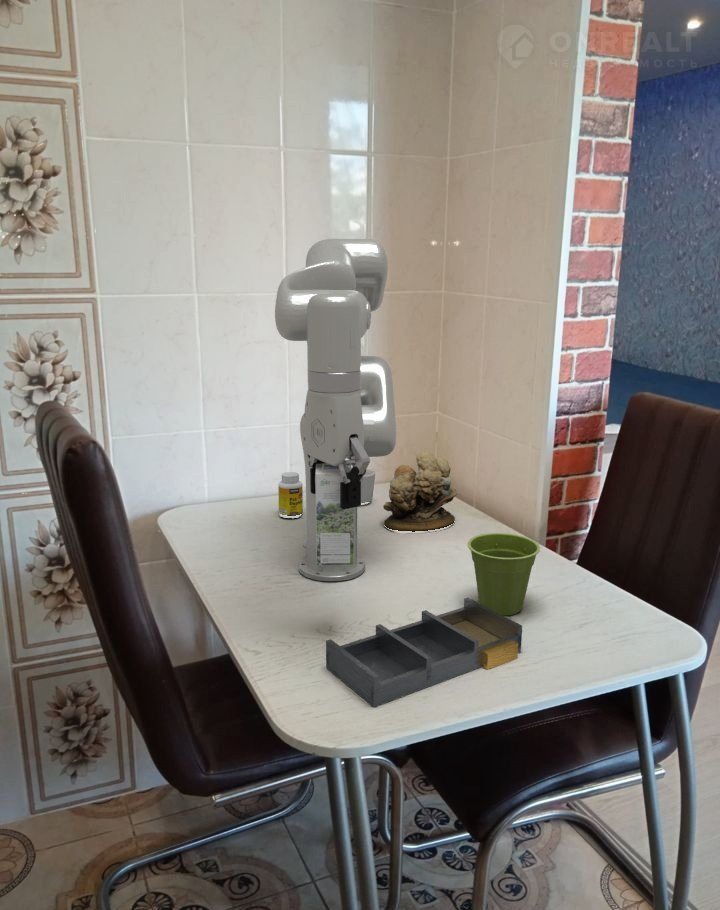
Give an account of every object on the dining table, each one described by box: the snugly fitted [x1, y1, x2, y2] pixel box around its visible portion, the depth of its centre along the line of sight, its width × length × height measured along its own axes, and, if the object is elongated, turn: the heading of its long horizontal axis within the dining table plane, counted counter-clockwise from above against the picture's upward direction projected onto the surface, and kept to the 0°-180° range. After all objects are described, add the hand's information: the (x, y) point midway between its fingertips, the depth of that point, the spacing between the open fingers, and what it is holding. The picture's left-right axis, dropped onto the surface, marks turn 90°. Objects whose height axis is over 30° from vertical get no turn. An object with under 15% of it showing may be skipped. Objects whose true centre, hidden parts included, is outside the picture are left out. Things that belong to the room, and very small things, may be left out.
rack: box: [325, 597, 523, 708], centre depth 108 cm, size 13×27×4 cm, turn 124°
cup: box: [361, 468, 376, 503], centre depth 184 cm, size 11×8×8 cm
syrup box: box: [315, 464, 354, 565], centre depth 112 cm, size 6×6×14 cm
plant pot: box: [467, 532, 541, 616], centre depth 125 cm, size 12×12×11 cm
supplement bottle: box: [277, 471, 304, 516], centre depth 173 cm, size 6×6×10 cm
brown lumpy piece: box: [383, 451, 458, 532], centre depth 167 cm, size 18×12×17 cm, turn 117°
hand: (335, 499), depth 111 cm, fingers closed on syrup box, 7 cm apart
